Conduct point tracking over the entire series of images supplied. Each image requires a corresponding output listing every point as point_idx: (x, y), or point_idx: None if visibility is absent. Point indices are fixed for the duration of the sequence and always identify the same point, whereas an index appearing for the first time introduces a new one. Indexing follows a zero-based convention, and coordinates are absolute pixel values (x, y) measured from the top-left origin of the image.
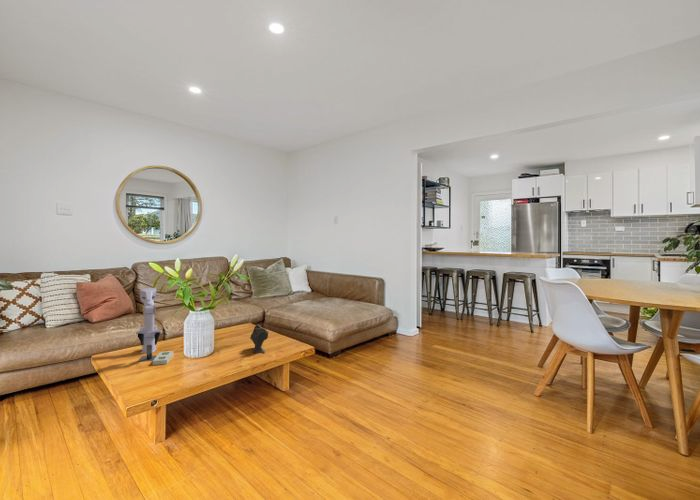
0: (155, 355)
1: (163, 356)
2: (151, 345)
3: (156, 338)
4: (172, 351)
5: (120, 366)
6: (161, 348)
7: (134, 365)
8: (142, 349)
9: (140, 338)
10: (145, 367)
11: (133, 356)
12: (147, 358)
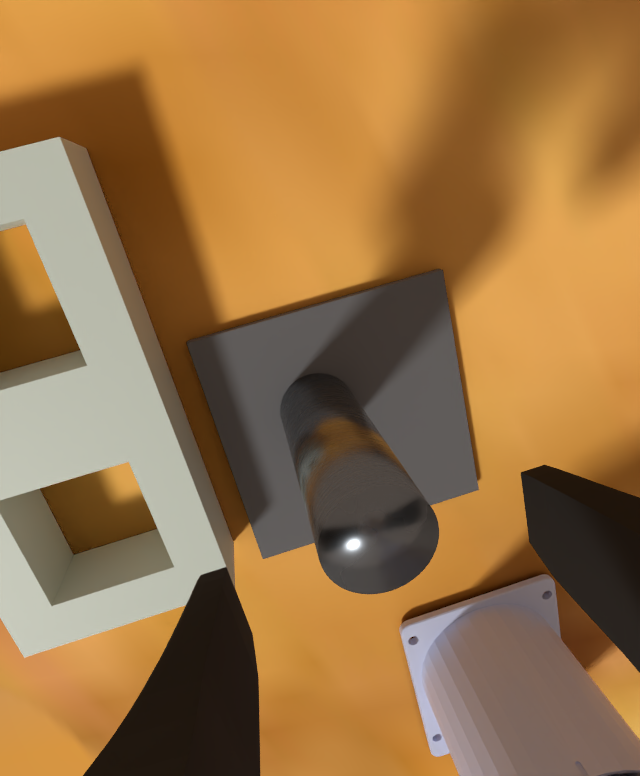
0: (304, 541)
1: (6, 399)
2: (318, 544)
3: (125, 749)
4: (22, 638)
5: (602, 87)
6: (378, 759)
7: (409, 141)
8: (562, 641)
9: None
10: (160, 43)
11: None
12: (329, 380)
